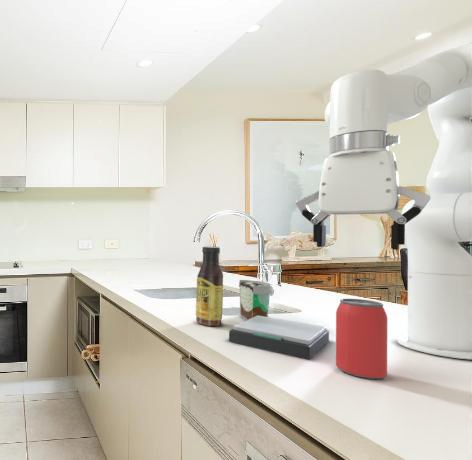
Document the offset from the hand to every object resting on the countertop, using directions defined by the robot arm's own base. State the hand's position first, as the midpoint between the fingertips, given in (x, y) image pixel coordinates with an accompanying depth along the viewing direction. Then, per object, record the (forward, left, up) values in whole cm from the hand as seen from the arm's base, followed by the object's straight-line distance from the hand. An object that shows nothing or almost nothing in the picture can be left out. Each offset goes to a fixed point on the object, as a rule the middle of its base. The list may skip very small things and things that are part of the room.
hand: (355, 247), depth 61 cm
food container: (-26, -23, -21) cm, 41 cm away
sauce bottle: (-12, -30, -21) cm, 39 cm away
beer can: (0, +1, -21) cm, 21 cm away
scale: (-9, -14, -21) cm, 27 cm away
